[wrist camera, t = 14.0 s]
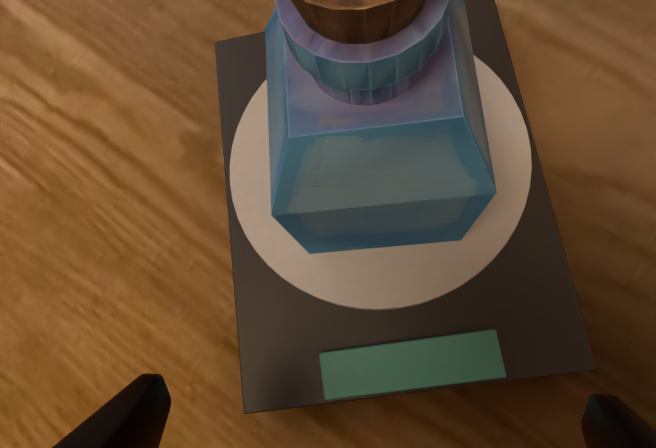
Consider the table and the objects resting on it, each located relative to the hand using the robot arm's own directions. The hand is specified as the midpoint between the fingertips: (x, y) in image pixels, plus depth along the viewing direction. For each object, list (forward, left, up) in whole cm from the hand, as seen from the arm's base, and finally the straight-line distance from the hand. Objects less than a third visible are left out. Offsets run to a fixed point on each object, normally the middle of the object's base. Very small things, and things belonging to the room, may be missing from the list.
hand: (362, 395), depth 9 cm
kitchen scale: (+8, -1, -11) cm, 14 cm away
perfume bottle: (+8, -1, -8) cm, 11 cm away
